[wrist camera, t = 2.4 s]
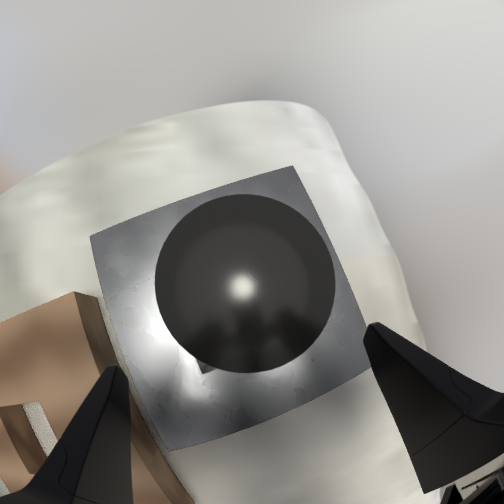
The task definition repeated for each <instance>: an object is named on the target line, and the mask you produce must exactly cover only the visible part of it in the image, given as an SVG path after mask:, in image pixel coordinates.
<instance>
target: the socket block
mask: <svg viewBox="0 0 504 504" xmlns="http://www.w3.org/2000/svg"><path fill="white" fill-rule="evenodd" d="M235 194H252V195H260V196H264V197H269V198H272V199H275V200H277V201H280V202H282V203H284V204H286V205H288V206H290V207H292V208H293V209H295V210H296V211H298V212H299V213H300V214H302V215H303V216H304V217H305V218H306V219H307V220H308V221H309V222H310V223H311V224H312V225H313V226H314V227H315V228H316V230H317V231H318V232H319V234H320V235H321V237H322V238H323V240H324V242H325V244H326V246H327V248H328V250H329V253H330V255H331V258H332V262H333V266H334V271H335V280H336V285H335V298H334V304H333V308H332V311H331V315H330V317H329V319H328V322H327V324H326V326H325V328H324V329H323V331H322V333H321V334H320V336H319V337H318V338H317V340H316V341H315V342H314V343H313V344H312V345H311V346H310V347H309V348H308V349H307V350H306V351H305V352H304V353H303V354H301V355H300V356H299V357H297V358H296V359H294V360H293V361H291V362H289V363H287V364H285V365H283V366H281V367H278V368H275V369H273V370H269V371H264V372H259V373H233V372H228V371H223V370H220V369H217V368H214V367H211V366H209V365H206V364H205V363H203V362H201V361H199V360H198V359H196V358H195V357H193V356H192V355H190V354H189V353H188V352H187V351H186V350H185V349H183V348H182V347H181V346H180V345H179V344H178V342H177V341H176V340H175V339H174V338H173V336H172V335H171V334H170V332H169V330H168V329H167V327H166V325H165V324H164V321H163V319H162V317H161V315H160V312H159V309H158V305H157V301H156V295H155V270H156V264H157V260H158V257H159V253H160V251H161V248H162V246H163V244H164V242H165V240H166V238H167V237H168V235H169V233H170V232H171V231H172V229H173V228H174V227H175V226H176V224H177V223H178V222H179V221H180V220H181V219H182V218H183V217H184V216H185V215H187V214H188V213H189V212H191V211H192V210H193V209H195V208H196V207H198V206H200V205H202V204H204V203H206V202H208V201H211V200H213V199H216V198H219V197H223V196H228V195H235ZM90 241H91V246H92V251H93V256H94V261H95V265H96V269H97V273H98V278H99V282H100V285H101V289H102V293H103V296H104V300H105V304H106V307H107V310H108V314H109V317H110V320H111V323H112V326H113V329H114V332H115V335H116V338H117V341H118V344H119V346H120V349H121V352H122V355H123V357H124V360H125V362H126V365H127V367H128V370H129V372H130V375H131V377H132V380H133V382H134V384H135V387H136V389H137V391H138V393H139V396H140V398H141V400H142V402H143V404H144V406H145V408H146V410H147V412H148V414H149V417H150V419H151V420H152V422H153V424H154V426H155V428H156V430H157V432H158V434H159V436H160V438H161V439H162V441H163V443H164V445H165V446H166V448H167V450H168V451H173V450H177V449H181V448H185V447H189V446H193V445H196V444H200V443H203V442H207V441H210V440H213V439H217V438H220V437H223V436H226V435H229V434H232V433H235V432H238V431H240V430H243V429H246V428H249V427H251V426H254V425H256V424H259V423H262V422H264V421H267V420H269V419H271V418H274V417H276V416H279V415H281V414H283V413H285V412H288V411H290V410H292V409H294V408H296V407H299V406H301V405H303V404H305V403H307V402H309V401H311V400H313V399H315V398H317V397H319V396H321V395H323V394H325V393H327V392H329V391H331V390H332V389H334V388H336V387H338V386H340V385H342V384H343V383H345V382H347V381H349V380H350V379H352V378H354V377H355V376H357V375H359V374H361V373H362V372H364V371H365V370H367V369H369V368H370V367H371V364H370V361H369V358H368V356H367V353H366V350H365V347H364V344H363V337H364V334H365V332H366V329H367V327H366V324H365V322H364V319H363V316H362V314H361V311H360V309H359V306H358V304H357V301H356V299H355V296H354V294H353V291H352V289H351V287H350V284H349V282H348V279H347V277H346V275H345V272H344V270H343V268H342V266H341V263H340V261H339V259H338V256H337V254H336V252H335V250H334V248H333V245H332V243H331V241H330V239H329V237H328V235H327V232H326V230H325V228H324V226H323V224H322V222H321V220H320V218H319V216H318V214H317V212H316V210H315V207H314V205H313V203H312V201H311V199H310V197H309V196H308V194H307V192H306V190H305V188H304V186H303V184H302V182H301V180H300V178H299V176H298V174H297V172H296V170H295V169H294V167H293V166H289V167H285V168H281V169H278V170H274V171H271V172H267V173H264V174H260V175H257V176H253V177H250V178H247V179H243V180H240V181H237V182H234V183H230V184H227V185H224V186H221V187H218V188H215V189H212V190H209V191H206V192H203V193H200V194H197V195H194V196H191V197H188V198H185V199H182V200H180V201H177V202H174V203H171V204H168V205H166V206H163V207H160V208H158V209H155V210H152V211H150V212H147V213H144V214H142V215H139V216H137V217H134V218H132V219H129V220H127V221H124V222H122V223H119V224H117V225H114V226H112V227H110V228H107V229H105V230H103V231H100V232H98V233H96V234H93V235H91V236H90Z"/></svg>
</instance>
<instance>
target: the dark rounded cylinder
mask: <svg viewBox="0 0 504 504" xmlns="http://www.w3.org/2000/svg"><path fill="white" fill-rule="evenodd" d="M335 285H336V280H335V271H334V266H333V262H332V258H331V255H330V253H329V250H328V248H327V246H326V244H325V242H324V240H323V238H322V237H321V235H320V234H319V232H318V231H317V230H316V228H315V227H314V226H313V225H312V224H311V223H310V222H309V221H308V220H307V219H306V218H305V217H304V216H303V215H302V214H300V213H299V212H298V211H296V210H295V209H293V208H292V207H290V206H288V205H286V204H284V203H282V202H280V201H277V200H275V199H272V198H269V197H264V196H260V195H252V194H235V195H228V196H223V197H219V198H216V199H213V200H211V201H208V202H206V203H204V204H202V205H200V206H198V207H196V208H195V209H193V210H192V211H191V212H189V213H188V214H187V215H185V216H184V217H183V218H182V219H181V220H180V221H179V222H178V223H177V224H176V226H175V227H174V228H173V229H172V231H171V232H170V233H169V235H168V237H167V238H166V240H165V242H164V244H163V246H162V248H161V251H160V253H159V257H158V260H157V264H156V270H155V295H156V301H157V305H158V309H159V312H160V315H161V317H162V319H163V321H164V324H165V325H166V327H167V329H168V330H169V332H170V334H171V335H172V336H173V338H174V339H175V340H176V341H177V342H178V344H179V345H180V346H181V347H182V348H183V349H185V350H186V351H187V352H188V353H189V354H190V355H192V356H193V357H195V358H196V359H198V360H199V361H201V362H203V363H205V364H207V365H209V366H211V367H214V368H217V369H220V370H223V371H228V372H233V373H259V372H264V371H269V370H273V369H275V368H278V367H281V366H283V365H285V364H287V363H289V362H291V361H293V360H294V359H296V358H297V357H299V356H300V355H301V354H303V353H304V352H305V351H306V350H307V349H308V348H309V347H310V346H311V345H312V344H313V343H314V342H315V341H316V340H317V338H318V337H319V336H320V334H321V333H322V331H323V329H324V328H325V326H326V324H327V322H328V319H329V317H330V315H331V311H332V308H333V304H334V298H335Z"/></svg>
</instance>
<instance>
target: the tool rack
mask: <svg viewBox="0 0 504 504" xmlns="http://www.w3.org/2000/svg"><path fill="white" fill-rule="evenodd" d="M116 364H117V365H119V364H118V361H117V359H116V356H115V353H114V351H113V348H112V345H111V342H110V339H109V336H108V333H107V330H106V327H105V324H104V321H103V318H102V314H101V311H100V308H99V304H98V301H97V297H93V296H89V295H85V294H81V293H78V292H71V293H69V294H66V295H64V296H62V297H59V298H57V299H54V300H52V301H50V302H47V303H45V304H42V305H40V306H38V307H35V308H33V309H31V310H28V311H26V312H24V313H21V314H19V315H17V316H14V317H12V318H10V319H8V320H5V321H3V322H1V323H0V477H1V479H2V481H3V482H4V484H5V485H6V487H7V489H8V490H9V492H10V493H13V492H16V491H18V490H20V489H22V488H24V487H25V486H26V485H27V484H28V483H29V482H30V480H31V479H32V478H33V476H34V475H35V474H36V472H37V471H38V470H39V468H40V467H41V466H42V464H43V463H44V462H45V460H46V459H47V457H46V455H45V453H44V451H43V449H42V447H41V446H40V444H39V442H38V440H37V438H36V436H35V434H34V432H33V430H32V428H31V425H30V423H29V421H28V419H27V416H26V414H25V412H24V409H23V407H22V405H21V404H23V403H29V402H35V401H40V403H41V406H42V408H43V411H44V413H45V415H46V417H47V420H48V422H49V424H50V426H51V428H52V430H53V432H54V434H55V436H56V438H57V440H59V439H60V438H61V435H62V434H63V432H64V431H65V429H66V427H67V426H68V424H69V423H70V421H71V419H72V418H73V416H74V415H75V413H76V412H77V410H78V408H79V407H80V405H81V404H82V402H83V401H84V399H85V398H86V396H87V395H88V393H89V392H90V390H91V389H92V387H93V386H94V384H95V383H96V381H97V380H98V378H99V377H100V375H101V374H102V372H103V371H104V370H105V368H106V367H107V366H108V365H116ZM129 399H130V412H131V469H132V488H133V501H134V504H195V503H194V501H193V500H192V499H191V497H190V496H189V495H188V493H187V492H186V490H185V489H184V488H183V486H182V485H181V483H180V482H179V480H178V479H177V477H176V476H175V474H174V473H173V471H172V469H171V468H170V466H169V465H168V463H167V461H166V460H165V458H164V456H163V455H162V453H161V451H160V450H159V448H158V446H157V444H156V443H155V441H154V439H153V437H152V435H151V433H150V432H149V430H148V428H147V426H146V424H145V422H144V420H143V418H142V416H141V414H140V412H139V410H138V408H137V406H136V404H135V401H134V399H133V397H132V395H131V393H130V390H129Z"/></svg>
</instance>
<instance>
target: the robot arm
mask: <svg viewBox="0 0 504 504" xmlns="http://www.w3.org/2000/svg"><path fill="white" fill-rule="evenodd" d="M363 344H364V347H365V350H366V353H367V356H368V358H369V361H370V364H371V367H372V370H373V373H374V376H375V378H376V380H377V382H378V385H379V387H380V389H381V391H382V393H383V395H384V398H385V400H386V402H387V404H388V406H389V409H390V411H391V413H392V416H393V418H394V420H395V422H396V425H397V427H398V429H399V432H400V434H401V436H402V439H403V441H404V444H405V446H406V449H407V451H408V454H409V456H410V459H411V461H412V464H413V467H414V469H415V472H416V474H417V477H418V480H419V482H420V485H421V488H422V491H423V493H424V494H426V493H428V492H431V491H433V490H436V489H438V488H440V487H443V486H445V485H447V484H449V483H451V482H453V483H452V484H451V485H449V486H448V487H447V488H446V490H445V493H444V495H443V498H442V501H441V503H440V504H504V393H500V392H497V391H494V390H492V389H490V388H488V387H486V386H484V385H482V384H480V383H478V382H476V381H474V380H472V379H470V378H468V377H466V376H465V375H463V374H461V373H459V372H458V371H456V370H454V369H453V368H451V367H449V366H448V365H447V364H445V363H443V362H442V361H440V360H439V359H437V358H435V357H434V356H432V355H431V354H429V353H428V352H426V351H424V350H423V349H421V348H420V347H418V346H416V345H415V344H413V343H412V342H410V341H408V340H407V339H405V338H404V337H402V336H400V335H399V334H397V333H396V332H394V331H392V330H391V329H389V328H388V327H386V326H384V325H383V324H381V323H379V322H375V323H371V324H369V325H368V326H367V329H366V332H365V334H364V337H363ZM0 504H134V501H133V488H132V469H131V412H130V399H129V383H128V378H127V376H126V375H125V373H124V372H123V370H122V369H121V367H120V366H119V365H117V364H116V365H108V366H107V367H106V368H105V370H104V371H103V372H102V374H101V375H100V377H99V378H98V380H97V381H96V383H95V384H94V386H93V387H92V389H91V390H90V392H89V393H88V395H87V396H86V398H85V399H84V401H83V402H82V404H81V405H80V407H79V408H78V410H77V412H76V413H75V415H74V416H73V418H72V419H71V421H70V423H69V424H68V426H67V427H66V429H65V431H64V432H63V434H62V435H61V438H60V439H59V440H58V442H57V444H56V445H55V447H54V448H53V450H52V451H51V453H50V455H49V456H48V457H47V459H46V460H45V462H44V463H43V464H42V466H41V467H40V468H39V470H38V471H37V472H36V474H35V475H34V476H33V478H32V479H31V480H30V482H29V483H28V484H27V485H26V486H25V487H24V488H22V489H20V490H18V491H16V492H13V493H10V494H8V495H5V496H2V497H0Z"/></svg>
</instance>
